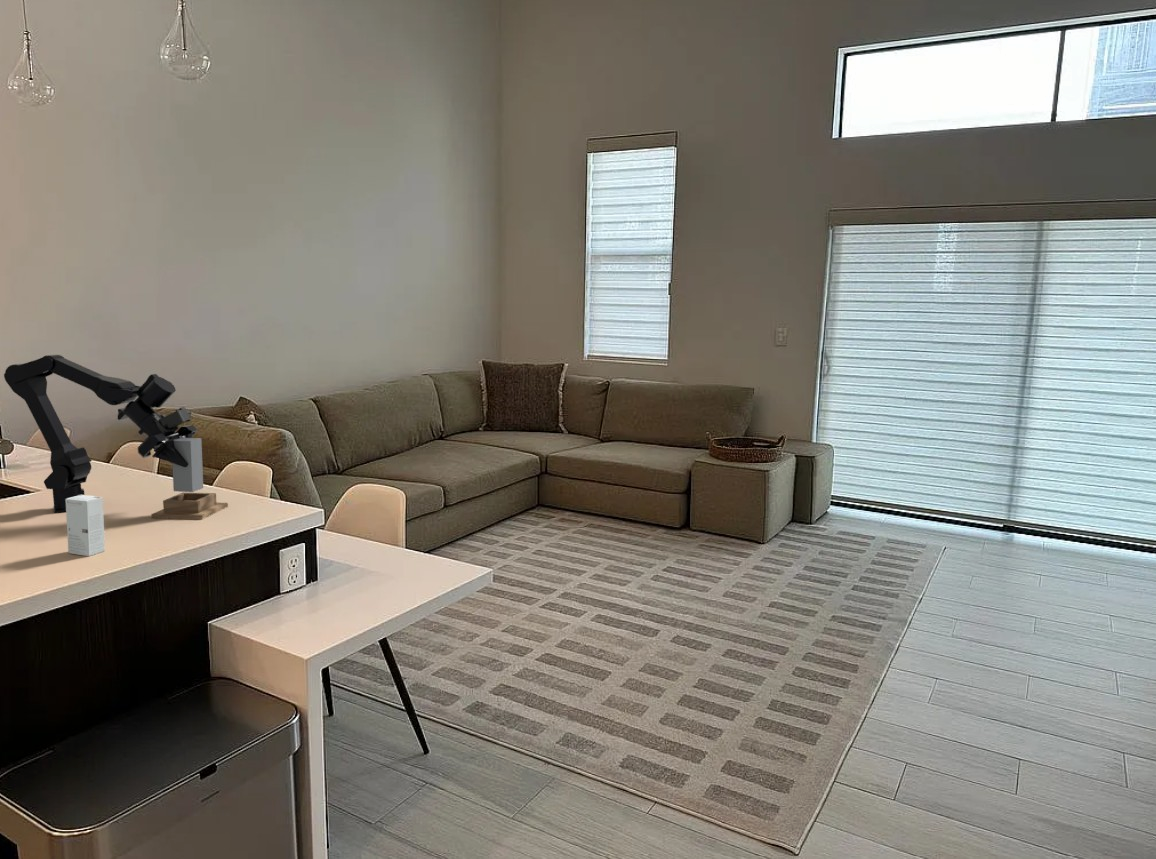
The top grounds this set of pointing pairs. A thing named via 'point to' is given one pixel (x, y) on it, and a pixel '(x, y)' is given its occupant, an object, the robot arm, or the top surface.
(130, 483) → the top surface
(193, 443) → the grey rectangular block
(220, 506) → the walnut socket
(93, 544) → the skincare box
